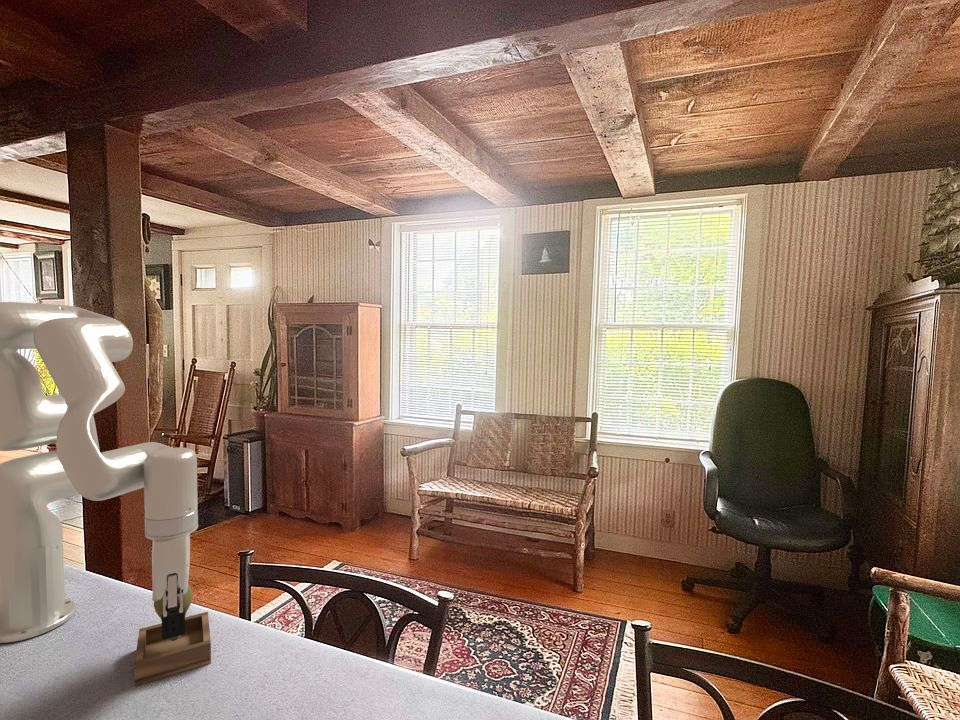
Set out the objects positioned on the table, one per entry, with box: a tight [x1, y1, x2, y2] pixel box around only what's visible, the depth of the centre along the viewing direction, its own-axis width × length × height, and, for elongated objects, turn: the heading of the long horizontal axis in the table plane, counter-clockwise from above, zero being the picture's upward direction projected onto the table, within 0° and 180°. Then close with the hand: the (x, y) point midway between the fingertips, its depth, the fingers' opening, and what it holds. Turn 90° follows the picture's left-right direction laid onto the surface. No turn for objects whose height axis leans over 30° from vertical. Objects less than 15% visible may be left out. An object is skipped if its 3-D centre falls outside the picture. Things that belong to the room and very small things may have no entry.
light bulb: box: [153, 584, 194, 641], centre depth 81 cm, size 6×6×10 cm
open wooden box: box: [133, 611, 212, 687], centre depth 82 cm, size 10×10×4 cm
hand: (174, 625), depth 82 cm, fingers closed on light bulb, 5 cm apart
